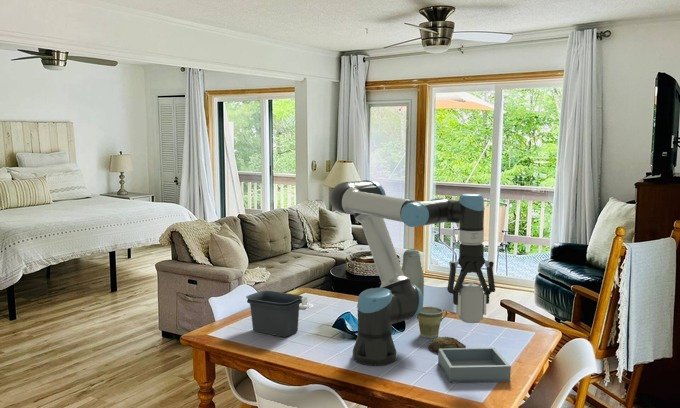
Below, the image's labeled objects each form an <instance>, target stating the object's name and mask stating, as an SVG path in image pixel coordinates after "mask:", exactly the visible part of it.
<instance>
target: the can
mask: <svg viewBox="0 0 680 408" xmlns="http://www.w3.org/2000/svg"><path fill="white" fill-rule="evenodd" d="M483 293H484V291H483V288H482V286H481V283H480V282H474V281H465V282H464V281H463V284H462V286H461V289H460V291H459V294H460V295H461V316H458V318H459V320H461V321H462V322H464V323H465V324H466V323H467V324H478V323H481V321H482V320H484V315H483Z"/></svg>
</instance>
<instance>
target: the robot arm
mask: <svg viewBox="0 0 680 408" xmlns="http://www.w3.org/2000/svg"><path fill="white" fill-rule="evenodd" d="M329 200H330V201H329V202H330V205H331V207H332V208H333V209H334V211H336V212H338V213H341V214H346V215H353V217H354V219H355V221H356V222H359V223H360V225H361V227H362V230H363V233H364V236H365V238H366V239H365V240H366V241H367V244H368V248H369V251H370V253H371V256H372V259H373V261H374V265H375V267H376V271H377V273H378V276H379V279H380V281H381V284H380V286H379V287H375V288H374V287H371V288H367V289H365V290H363V291H362V292H360V294H358V298H357V305H356V308H357V337H356V339H355V342H354V346H353V349H352V360H354V361H355V362H356V363H359V364H361V365H364V366H365V365H366V366H377V367H378V366H386V365H389V364H392V363H394V362H395V361H396V360H397V349H396V346H395V343H394V339H393V338H392V337H393V336H392V325H394V324H398V323H400V322H404V321H408V320H410V319H412V318H414V317H417V315H418V314H419V313H420V312H421V310H422V307H424V299H423V295H422V292H421V290H420V289H419V288H417V286H415V285H412V284H411V281H410V278H408V277H406V276H404V274H403V271H402V266H401V263H400V260H399V258H398V255H397V252H396V250H395V246H394V244H393V241H392V239H391V235H390V233H389V230H388V227H387V225H386V222H385V219H386V220H390V221H394V222H400V223H404V224H405V226H407V227H410V228H420V227H424V226H428V225H436V224H442V223H443V224H444V223H453V224H459V227H458V228H459V233H458V234H459V236H458V237H459V239H458V241H459V249H458V252H459V253H458V254H459V256H458V259H457V260H454V261H452V260H450V261H449V263H448V265H449V268H450V269H449V273H448V283H447V290H446V291H448V293H449V294H452V300H453V301H452V303H453V305H454V306H455V314H456V315H457V316H458V317H459V316H461V295H460V294H459V291H460V289H461V286H462V284H463V283H464V281H465V279H466V277H467V275H468V274H470V273H474V274H476V276H477V278H478V280H479V283H480V284H481V287H482V288H483V316H486V315H487V305H488V304H489V303H490V295H491V293H495V292H496V284H495V278H494V270H493V268H494V263H495V262H494V261H492V260H490V259H489V260H486V259H485V258H484V257H485V255H484V252H485V251H484V250H485V249H484V248H485V245H484V244H483V243H484V242H485V241H484V239H485V238H484V236H485V233H484V231H485V227H484V226H485V225H484V224H485V223H484V221H485V220H484V219H485V210H486V209H485V201H484V200H485V197H484V196H483V195H482V194H478V193H463V194H460V195H459V199H448V198H431V199H430V200H425V201H419V200H415V199H408V198H407V199H406V198H402V197H401V198H400V197H395V196H390V195H387V194H386V191H385V189H384V187H383V186H382V185H381V184H380V183H379V182H377V181H375V180H367V179H365V180H355V181H343V182H340V183H338V184H336V185H335V186H334V187H333V188H332V190H331V192H330V195H329ZM458 266H460V270H459V274H458V277H457V281H456V283H455V279H456V275H457V274H456V273H457V268H458ZM483 266H485V267H486V276H487V282H486V280H485V276H484V274H483V270H482V268H483ZM487 283H488V284H487Z"/></svg>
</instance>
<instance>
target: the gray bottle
mask: <svg viewBox="0 0 680 408" xmlns="http://www.w3.org/2000/svg"><path fill="white" fill-rule="evenodd" d="M402 255H403V256H402V266H401V268H402V271H403V274H404V276H406V277H408V278H410V281H411V284H412V285H415V286H417V288H419V289H420V290H421V292H422V295H423V300H424V298H425V297H424V295H425V294H424V290H425V276H424V271H423V268H422V262H421V254H420V251H419V250H418V249H416V248H415V249H414V248H408V249H406V250H405V251H404V253H403V254H402Z"/></svg>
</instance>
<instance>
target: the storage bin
mask: <svg viewBox="0 0 680 408" xmlns="http://www.w3.org/2000/svg"><path fill="white" fill-rule="evenodd" d="M303 297H304V296H302V295H299V294H293V293H287V292H286V293H285V292H280V291H273V290H260V291H257V292H255V293H252V294H249V295H246V296H245V298H246V299H247V301H246V302H247V304H249V307H250V313H251V314H250V316H251V324H252V330H253V331H254V332H256V333H262V334H268V335H273V336H277V337H283V338H287V337H289V336H291V335H293V334H295V333H297V332H298V330H299V315H300V308H299V306H300V305H299V304H301V303H302V300H301V299H302V298H303Z"/></svg>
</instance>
